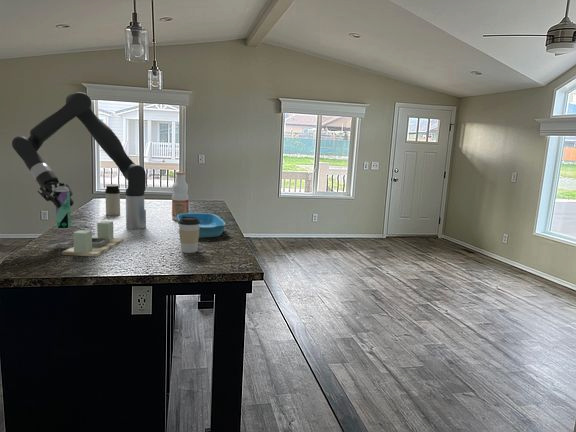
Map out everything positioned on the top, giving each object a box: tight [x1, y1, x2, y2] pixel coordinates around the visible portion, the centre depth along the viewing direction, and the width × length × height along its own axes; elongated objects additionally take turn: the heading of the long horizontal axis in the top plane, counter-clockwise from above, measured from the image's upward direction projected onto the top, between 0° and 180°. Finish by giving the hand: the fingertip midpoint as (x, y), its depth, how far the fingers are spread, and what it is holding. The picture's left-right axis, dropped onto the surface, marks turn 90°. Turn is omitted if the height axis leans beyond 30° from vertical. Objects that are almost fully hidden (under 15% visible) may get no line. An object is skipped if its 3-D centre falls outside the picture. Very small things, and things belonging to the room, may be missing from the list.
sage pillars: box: [72, 220, 114, 253], centre depth 183 cm, size 25×5×8 cm, turn 178°
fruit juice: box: [171, 171, 189, 222], centre depth 250 cm, size 9×9×28 cm
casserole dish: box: [177, 212, 227, 239], centre depth 224 cm, size 37×22×7 cm, turn 22°
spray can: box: [55, 182, 72, 231], centre depth 183 cm, size 6×6×20 cm
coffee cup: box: [178, 216, 200, 254], centre depth 185 cm, size 9×9×15 cm
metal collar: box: [92, 237, 109, 248], centre depth 184 cm, size 9×9×2 cm
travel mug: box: [105, 183, 121, 217], centre depth 255 cm, size 8×8×18 cm
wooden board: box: [62, 236, 125, 258], centre depth 184 cm, size 26×14×1 cm, turn 178°
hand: (66, 205), depth 182 cm, fingers closed on spray can, 5 cm apart
